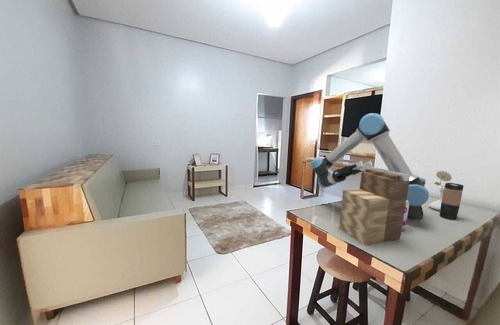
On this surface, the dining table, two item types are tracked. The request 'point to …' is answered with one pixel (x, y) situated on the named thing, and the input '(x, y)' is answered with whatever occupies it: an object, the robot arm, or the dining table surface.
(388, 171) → the clear long thin bar
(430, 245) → the dining table surface
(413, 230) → the dining table surface
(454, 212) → the travel mug
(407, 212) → the supplement can
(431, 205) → the flower in vase
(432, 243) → the dining table surface
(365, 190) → the walnut stand
